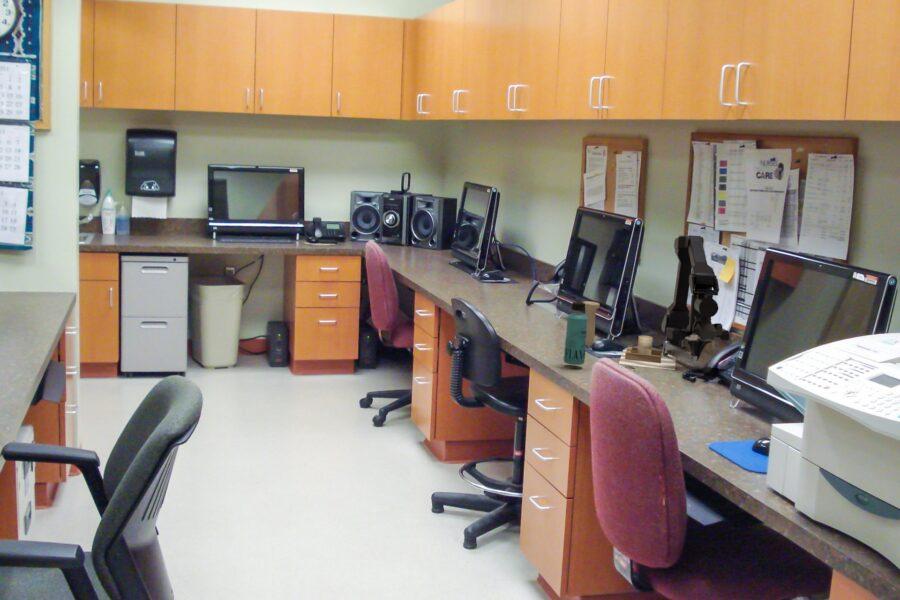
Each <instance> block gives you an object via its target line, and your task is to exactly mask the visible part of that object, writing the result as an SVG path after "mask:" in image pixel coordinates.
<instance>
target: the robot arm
mask: <svg viewBox="0 0 900 600" xmlns="http://www.w3.org/2000/svg"><path fill="white" fill-rule="evenodd" d="M704 242H705V241H704V237H703V236H701V235H693V234H692V235H690V234H689V235H680V234H679V235H678V237H676V238H675V239H674V242H673V248H674V253H675V255H676V257H677V259H678V265H677V271H676V279H675V286H674V295H673V302H672V303H670V305H669V306H668V307H667V309H666V314H664V317H663V319H662V322H661V331H662V332H663V333H665V341H669V343H671V344H673V345H675V346H677V347H679V348H681V349H683V342H684V340H685V341H686V342H687V345H688V347H689V349H690V353H692V354H694V355H696V356H697V362H698V361H699V359H700V357H701V354H702V352H703V350H704V348H705V347H706V346H707V345H708V344H710V343H712V341H715V340H716V338H718V339H719V340H720V341H730V340H731V333H730V330H727V329H725V328H723V324H722V323H721V322H720V323H719V322H718V323H716V322H715V323H712V318H713V317H714V316H716V315H717V314H718V312H719V303H718V302H717V301H716V300H715V299H714V296H719V291H720V285H719V280H718V277H717V275H716V274H715V270H714V268H713V267H712V266H710V265H709V264H708V262H707V261H708V260H707V256H706V253H705V248H704V245H705V244H704ZM689 291H690V292H689ZM689 293H690V294H691V297H690V307H689V308H690V309H689V308H688V306H687V305H688V299H689Z"/></svg>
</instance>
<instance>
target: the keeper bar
mask: <svg viewBox="0 0 900 600" xmlns="http://www.w3.org/2000/svg"><path fill="white" fill-rule="evenodd" d="M668 354H669V355H671V356H673V357H675V358H676V359H677V360H678V361H681V362H683V363H686V364H687V365H689V366H691V367H697V362H698V361H697V356H696V355H694V354H692V352H691V351H690V352H689V351H687V350H685V349H683V348H682V349H681V348H679V347H677V346H675V345H673V344H671V343H669V341H666V340H663V346H662V355H668Z"/></svg>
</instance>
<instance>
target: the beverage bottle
mask: <svg viewBox="0 0 900 600" xmlns="http://www.w3.org/2000/svg"><path fill="white" fill-rule="evenodd" d="M571 305H572V306H571V310H573V311H579V312H571V313H570V314H568V315H567V318H566V320H567V321H566V331H565V332H566V334H565V341H564V352H563V363H564V364H567V365H574V366H580V365H584V363H585V360H586V348H587V347H586V346H587V345H586V334H587V322H588V317H587V316H586V315H585V313H582V312H583V311H584V312H585V311H586V309H585V303H583V302H578V301H575V302H572V304H571Z"/></svg>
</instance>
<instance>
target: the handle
mask: <svg viewBox="0 0 900 600" xmlns="http://www.w3.org/2000/svg"><path fill="white" fill-rule="evenodd" d="M582 303H585V313H584V314H585V315H586V316H587V317H588V322H587V334H586V347H585V348H588V349H589V348H590V347H588V346H593V344H594V340H595V332H596V312H597V310H599V308H600V305H601V304H600V303H599V302H595V301H590V300H589V301H588V300H587V301H586V300H585V301H582Z"/></svg>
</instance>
